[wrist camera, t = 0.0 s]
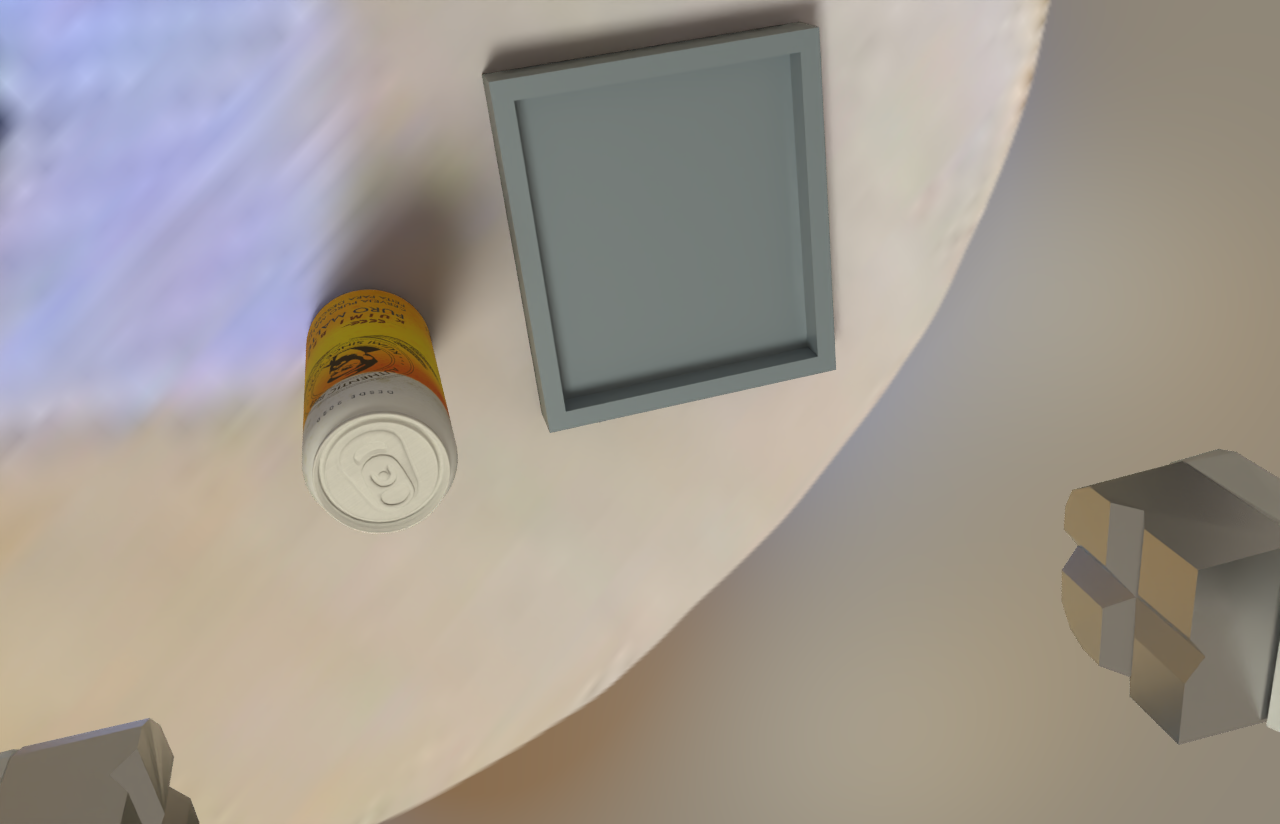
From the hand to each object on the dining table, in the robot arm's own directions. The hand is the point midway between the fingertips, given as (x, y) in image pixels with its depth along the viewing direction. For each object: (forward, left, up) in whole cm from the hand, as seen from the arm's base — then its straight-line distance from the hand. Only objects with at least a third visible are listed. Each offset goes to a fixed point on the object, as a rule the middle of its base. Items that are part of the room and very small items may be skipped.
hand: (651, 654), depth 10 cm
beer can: (+14, -4, -48) cm, 50 cm away
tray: (+11, +12, -48) cm, 51 cm away
